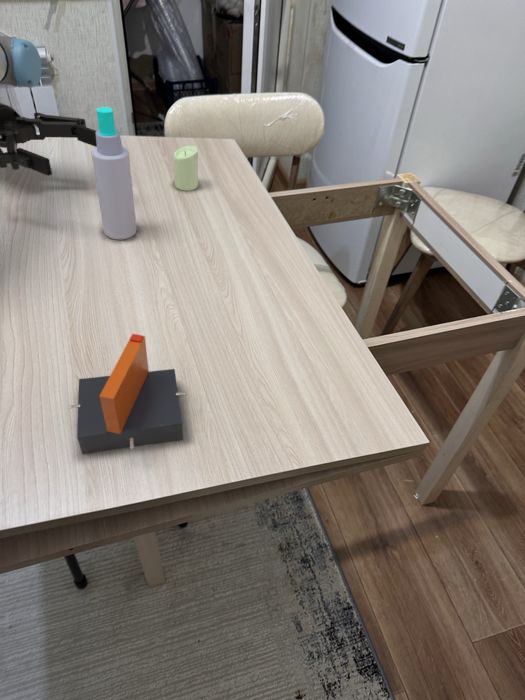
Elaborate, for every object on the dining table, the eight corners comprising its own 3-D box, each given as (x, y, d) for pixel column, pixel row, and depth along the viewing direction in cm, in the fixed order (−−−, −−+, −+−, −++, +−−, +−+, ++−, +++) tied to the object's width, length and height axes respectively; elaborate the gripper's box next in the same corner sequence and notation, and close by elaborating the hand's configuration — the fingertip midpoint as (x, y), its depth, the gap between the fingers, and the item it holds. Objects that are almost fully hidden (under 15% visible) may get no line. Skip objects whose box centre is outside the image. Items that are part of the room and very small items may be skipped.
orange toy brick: (120, 434, 56) (113, 397, 51) (107, 431, 56) (98, 394, 51) (148, 372, 63) (144, 334, 58) (136, 369, 63) (132, 332, 58)
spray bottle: (101, 225, 93) (82, 103, 77) (133, 221, 95) (121, 102, 79) (106, 242, 89) (87, 117, 73) (139, 238, 91) (127, 116, 75)
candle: (178, 191, 105) (177, 154, 99) (172, 181, 108) (171, 144, 102) (200, 189, 106) (200, 152, 101) (194, 179, 109) (194, 142, 104)
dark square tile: (71, 474, 56) (65, 457, 53) (75, 382, 65) (70, 363, 63) (194, 456, 59) (194, 439, 56) (181, 371, 69) (180, 353, 66)
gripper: (46, 123, 102) (127, 152, 96) (-62, 163, 85) (27, 201, 79) (38, 84, 96) (123, 112, 90) (-79, 119, 80) (15, 156, 74)
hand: (78, 154), depth 85 cm, fingers open, 13 cm apart
